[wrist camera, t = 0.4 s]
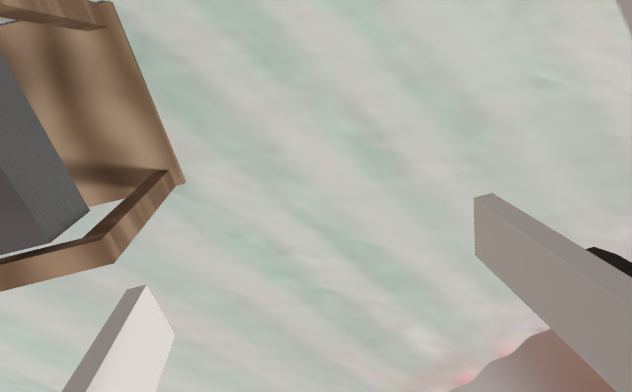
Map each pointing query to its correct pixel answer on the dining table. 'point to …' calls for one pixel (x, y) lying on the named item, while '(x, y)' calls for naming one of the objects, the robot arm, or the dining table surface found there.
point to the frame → (88, 126)
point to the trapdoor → (30, 175)
